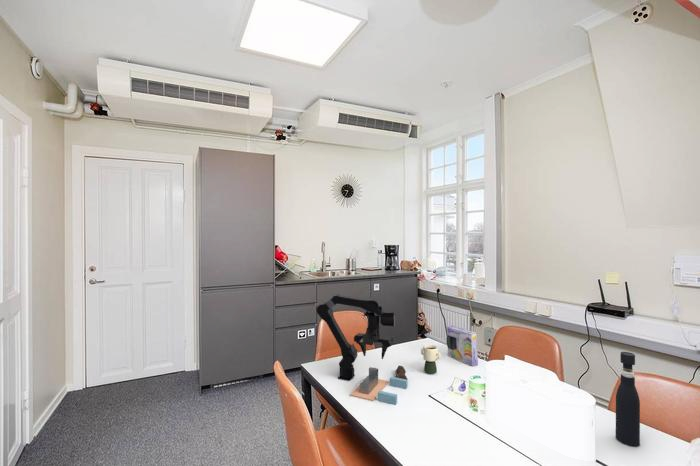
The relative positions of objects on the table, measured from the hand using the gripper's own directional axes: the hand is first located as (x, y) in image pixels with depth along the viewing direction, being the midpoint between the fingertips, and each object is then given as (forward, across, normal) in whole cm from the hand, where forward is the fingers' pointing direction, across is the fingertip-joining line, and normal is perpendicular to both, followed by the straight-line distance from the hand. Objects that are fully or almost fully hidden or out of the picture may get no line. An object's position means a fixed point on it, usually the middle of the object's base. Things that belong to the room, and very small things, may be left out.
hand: (373, 357), depth 161 cm
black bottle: (+11, +96, -6) cm, 97 cm away
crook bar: (+10, +2, -10) cm, 14 cm away
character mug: (+11, +23, +21) cm, 33 cm away
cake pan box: (+11, +35, +45) cm, 58 cm away
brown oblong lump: (+12, +11, +8) cm, 18 cm away
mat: (+11, +2, -9) cm, 14 cm away
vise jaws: (+11, +13, -9) cm, 19 cm away
